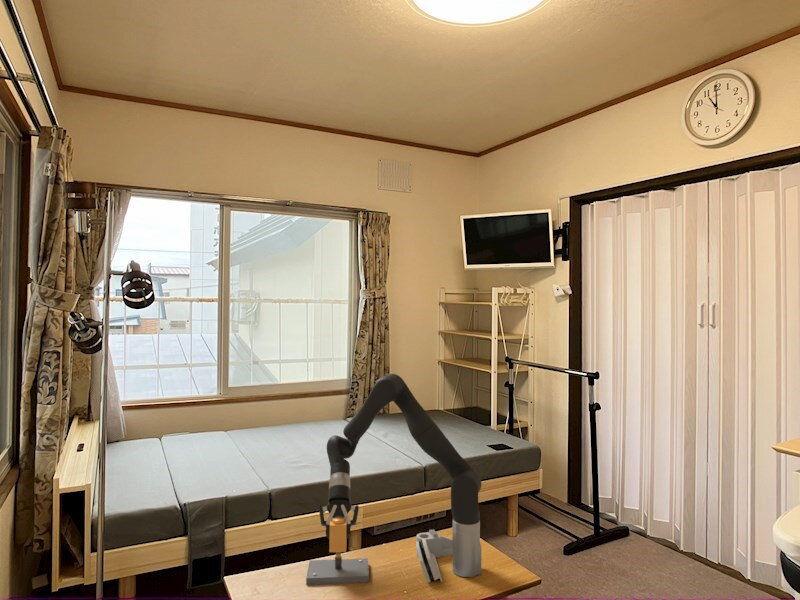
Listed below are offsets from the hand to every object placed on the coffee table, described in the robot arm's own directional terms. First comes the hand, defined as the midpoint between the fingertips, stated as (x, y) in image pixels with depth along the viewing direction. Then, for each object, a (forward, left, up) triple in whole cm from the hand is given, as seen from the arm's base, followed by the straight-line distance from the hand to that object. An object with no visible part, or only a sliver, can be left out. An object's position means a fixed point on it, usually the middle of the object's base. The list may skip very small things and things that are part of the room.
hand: (338, 537), depth 176 cm
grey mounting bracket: (-37, -15, -13) cm, 42 cm away
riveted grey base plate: (0, -2, -13) cm, 13 cm away
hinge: (-30, -2, -13) cm, 33 cm away
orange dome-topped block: (0, -2, -4) cm, 5 cm away
